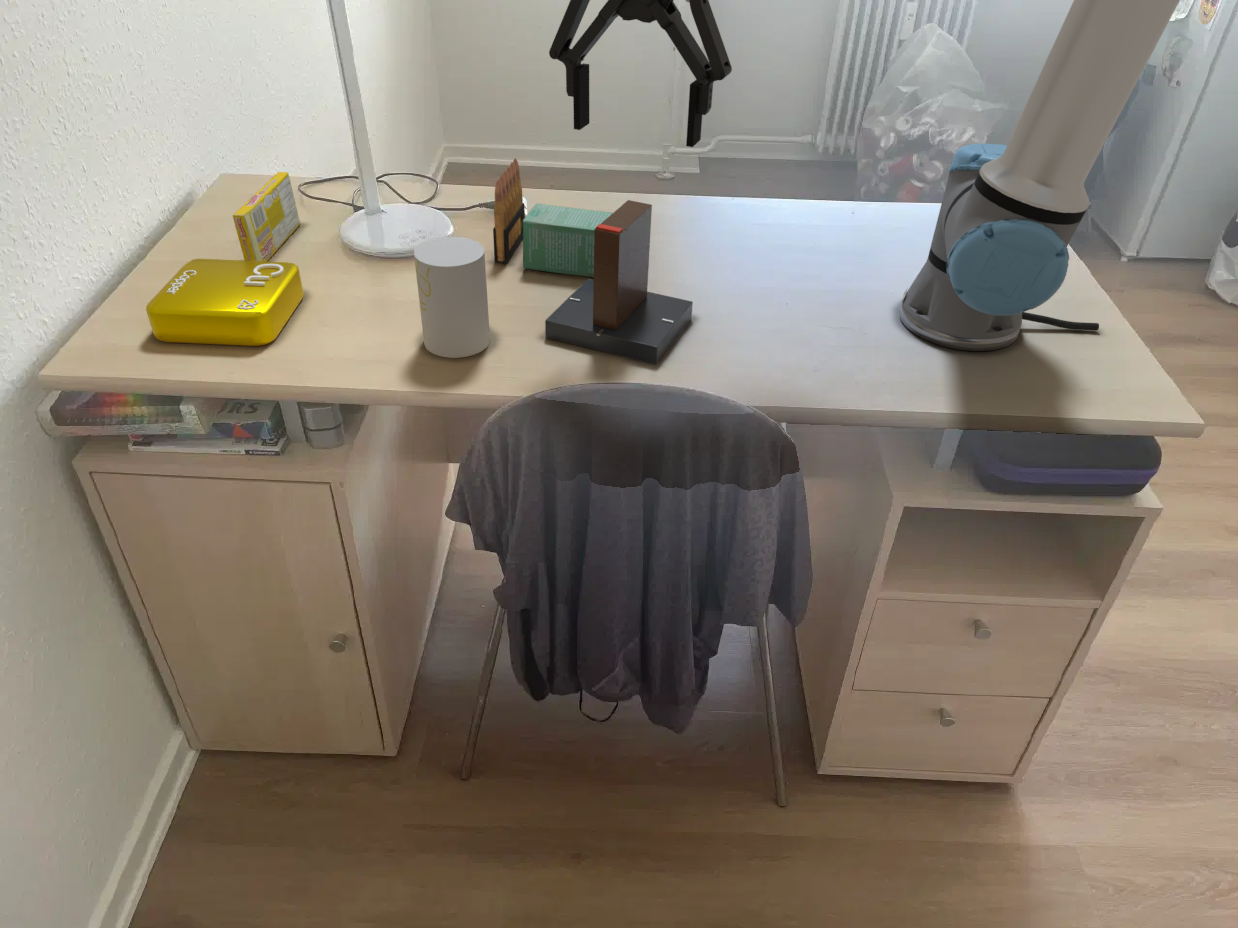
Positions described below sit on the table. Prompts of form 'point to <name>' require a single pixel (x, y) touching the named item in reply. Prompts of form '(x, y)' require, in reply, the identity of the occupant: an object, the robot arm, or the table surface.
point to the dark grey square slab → (634, 338)
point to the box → (560, 239)
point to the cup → (453, 296)
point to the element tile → (226, 302)
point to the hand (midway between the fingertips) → (636, 135)
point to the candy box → (267, 219)
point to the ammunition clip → (508, 214)
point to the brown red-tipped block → (621, 263)
